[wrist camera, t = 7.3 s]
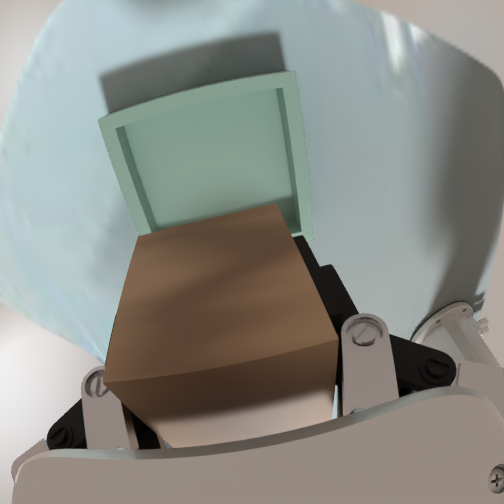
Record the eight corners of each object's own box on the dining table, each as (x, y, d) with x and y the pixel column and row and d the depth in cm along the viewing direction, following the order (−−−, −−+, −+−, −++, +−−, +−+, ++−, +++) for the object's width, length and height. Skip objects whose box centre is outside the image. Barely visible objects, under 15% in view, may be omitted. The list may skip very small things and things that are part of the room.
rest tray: (285, 70, 19) (295, 71, 17) (305, 223, 26) (314, 239, 24) (108, 113, 19) (97, 119, 17) (159, 256, 26) (156, 275, 24)
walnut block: (276, 203, 11) (338, 338, 6) (290, 304, 13) (330, 427, 9) (138, 236, 10) (102, 382, 6) (181, 328, 13) (182, 454, 8)
